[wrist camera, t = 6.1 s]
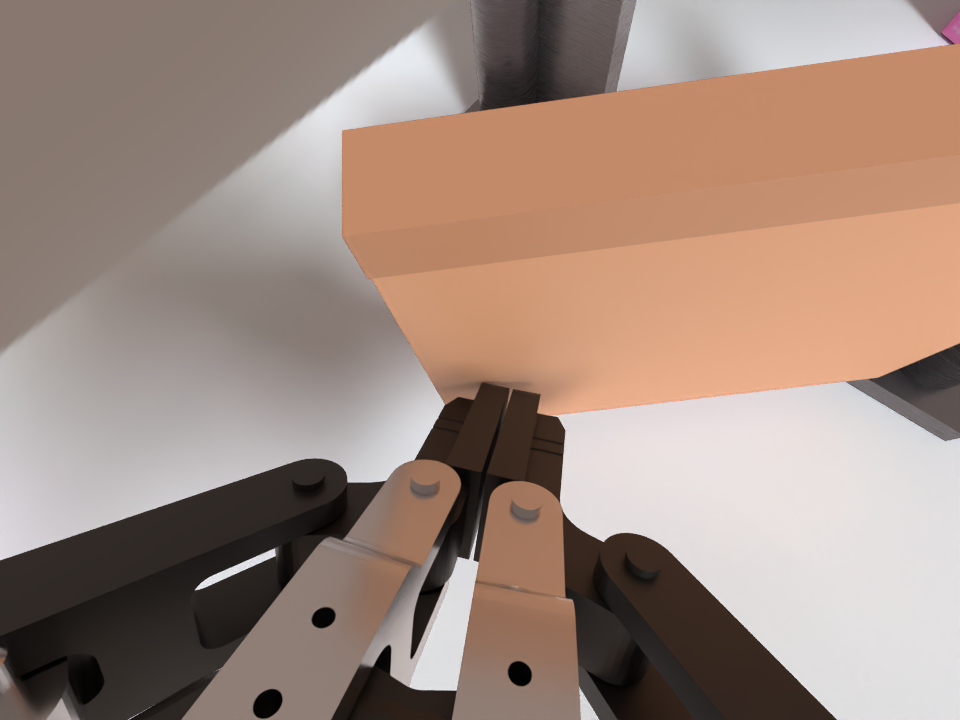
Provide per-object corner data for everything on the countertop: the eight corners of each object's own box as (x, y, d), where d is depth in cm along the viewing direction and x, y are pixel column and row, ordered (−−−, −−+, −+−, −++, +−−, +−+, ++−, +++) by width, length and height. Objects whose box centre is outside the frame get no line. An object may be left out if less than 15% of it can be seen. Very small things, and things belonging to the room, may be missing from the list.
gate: (860, 335, 16) (1520, -36, 6) (878, 380, 16) (1652, 63, 5) (454, 384, 17) (341, 130, 6) (458, 429, 16) (341, 236, 5)
